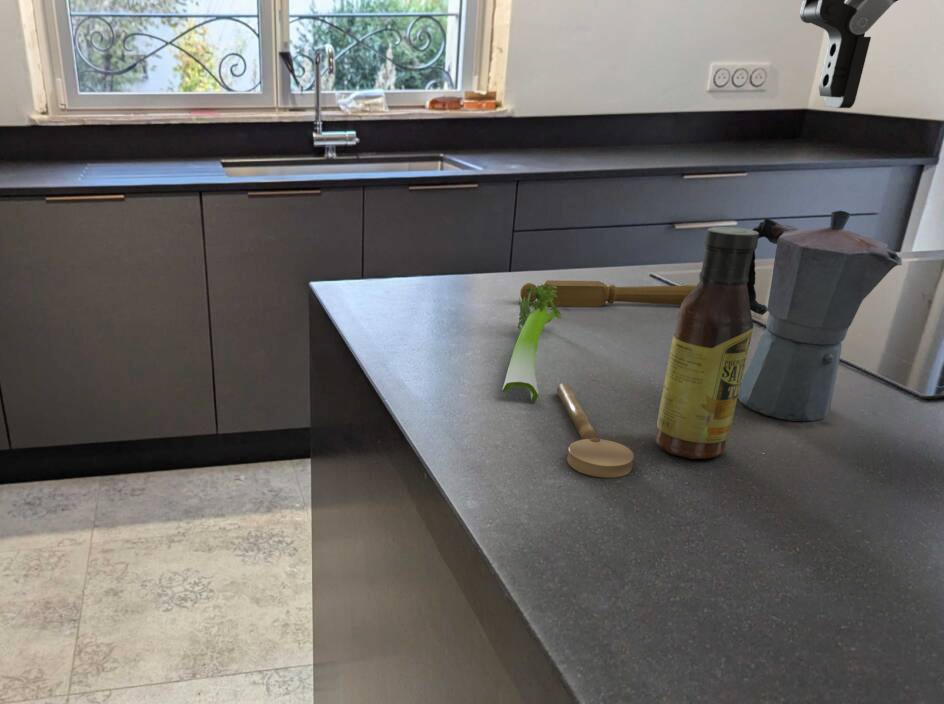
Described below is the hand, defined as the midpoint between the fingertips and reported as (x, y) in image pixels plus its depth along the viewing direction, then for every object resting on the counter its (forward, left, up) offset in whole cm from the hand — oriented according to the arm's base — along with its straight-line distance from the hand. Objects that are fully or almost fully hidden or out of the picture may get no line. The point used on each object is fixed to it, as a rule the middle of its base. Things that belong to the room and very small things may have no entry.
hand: (911, 108), depth 48 cm
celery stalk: (+12, -42, -30) cm, 53 cm away
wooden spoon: (+11, -20, -30) cm, 38 cm away
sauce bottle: (+2, -17, -30) cm, 35 cm away
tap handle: (-5, -67, -30) cm, 74 cm away
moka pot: (-11, -28, -30) cm, 43 cm away
